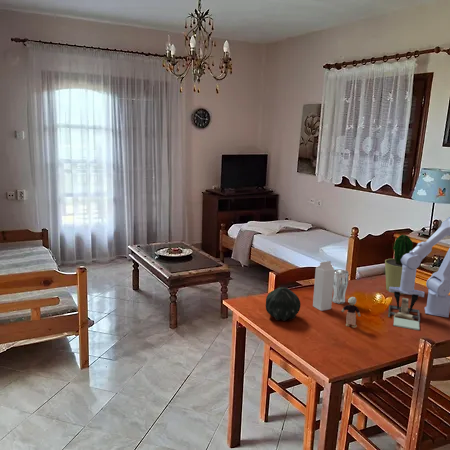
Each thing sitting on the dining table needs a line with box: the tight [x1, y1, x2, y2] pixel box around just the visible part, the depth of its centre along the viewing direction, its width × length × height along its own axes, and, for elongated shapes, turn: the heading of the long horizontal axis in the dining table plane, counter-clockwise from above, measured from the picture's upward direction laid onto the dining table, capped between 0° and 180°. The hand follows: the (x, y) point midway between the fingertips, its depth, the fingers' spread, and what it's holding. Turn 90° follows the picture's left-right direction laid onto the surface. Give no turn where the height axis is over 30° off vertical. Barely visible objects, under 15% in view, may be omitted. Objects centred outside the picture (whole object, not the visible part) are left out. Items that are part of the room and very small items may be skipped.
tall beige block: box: [400, 297, 409, 314], centre depth 197 cm, size 2×7×6 cm, turn 158°
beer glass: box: [332, 268, 349, 305], centre depth 207 cm, size 7×7×15 cm
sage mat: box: [393, 316, 420, 331], centre depth 186 cm, size 10×8×1 cm
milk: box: [312, 260, 336, 312], centre depth 199 cm, size 6×6×22 cm
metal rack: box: [387, 304, 421, 323], centre depth 196 cm, size 13×12×1 cm
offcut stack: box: [393, 311, 415, 321], centre depth 192 cm, size 8×3×2 cm, turn 62°
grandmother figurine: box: [341, 296, 361, 329], centre depth 182 cm, size 8×4×13 cm, turn 71°
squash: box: [265, 286, 302, 322], centre depth 188 cm, size 14×15×15 cm
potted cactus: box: [384, 234, 415, 295], centre depth 223 cm, size 15×15×30 cm
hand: (404, 309), depth 197 cm, fingers open, 5 cm apart
